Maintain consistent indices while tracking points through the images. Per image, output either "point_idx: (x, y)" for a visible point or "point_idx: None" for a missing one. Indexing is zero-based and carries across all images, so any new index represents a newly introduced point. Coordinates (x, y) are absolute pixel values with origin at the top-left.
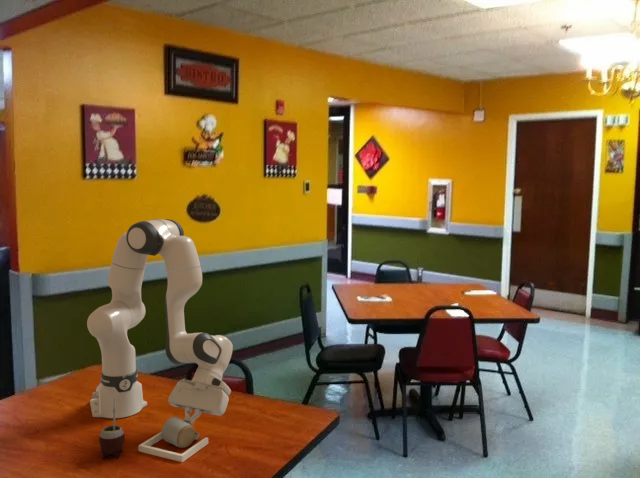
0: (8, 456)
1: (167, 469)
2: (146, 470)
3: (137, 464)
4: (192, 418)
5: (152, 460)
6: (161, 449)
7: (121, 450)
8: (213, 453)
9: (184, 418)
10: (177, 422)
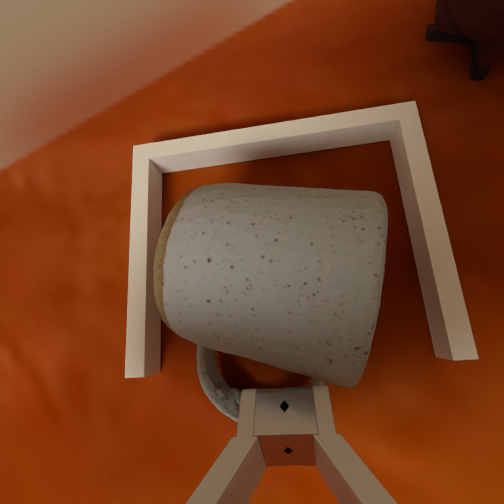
0: None
1: (166, 94)
2: (234, 47)
3: (303, 53)
4: (238, 425)
5: (273, 105)
6: (268, 136)
7: (477, 69)
8: (67, 294)
9: (326, 403)
10: (261, 232)
